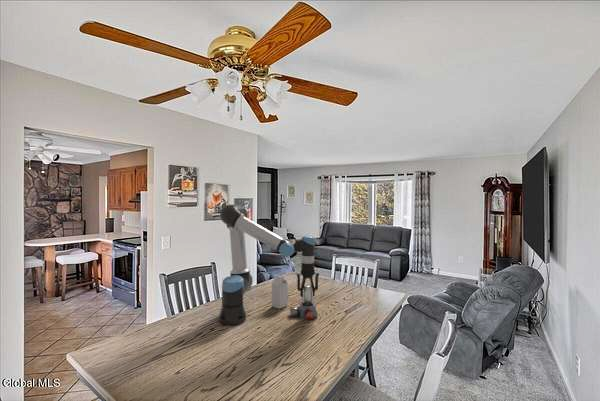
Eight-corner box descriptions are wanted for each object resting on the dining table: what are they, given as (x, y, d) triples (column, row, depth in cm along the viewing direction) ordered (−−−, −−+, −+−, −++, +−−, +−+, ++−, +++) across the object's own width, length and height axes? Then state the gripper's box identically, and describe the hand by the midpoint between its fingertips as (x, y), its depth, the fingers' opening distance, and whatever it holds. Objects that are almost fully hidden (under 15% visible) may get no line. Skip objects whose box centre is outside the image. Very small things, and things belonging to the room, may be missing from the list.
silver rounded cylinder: (304, 308, 166) (304, 287, 166) (302, 305, 171) (303, 285, 171) (312, 308, 167) (312, 287, 167) (310, 305, 171) (310, 285, 171)
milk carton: (279, 309, 177) (280, 278, 177) (271, 306, 181) (271, 276, 181) (287, 305, 183) (287, 276, 183) (278, 303, 187) (279, 274, 187)
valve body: (292, 321, 160) (292, 309, 160) (289, 312, 172) (289, 302, 172) (318, 319, 162) (318, 308, 162) (314, 311, 174) (314, 300, 174)
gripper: (294, 264, 164) (293, 305, 164) (323, 263, 166) (323, 303, 166) (292, 261, 171) (291, 300, 171) (320, 260, 174) (320, 299, 174)
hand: (307, 301), depth 169 cm, fingers closed on silver rounded cylinder, 5 cm apart
